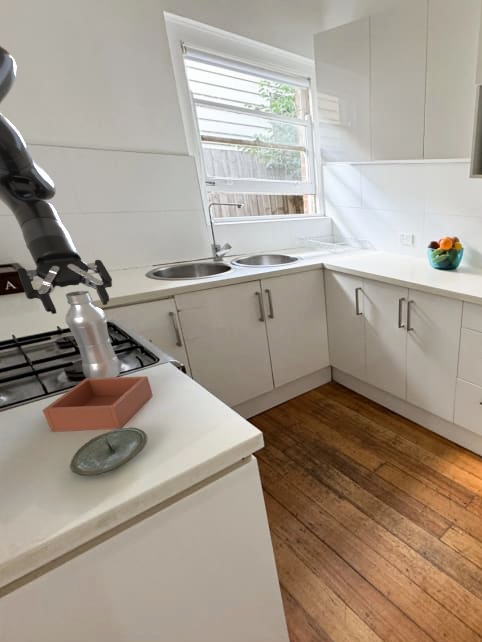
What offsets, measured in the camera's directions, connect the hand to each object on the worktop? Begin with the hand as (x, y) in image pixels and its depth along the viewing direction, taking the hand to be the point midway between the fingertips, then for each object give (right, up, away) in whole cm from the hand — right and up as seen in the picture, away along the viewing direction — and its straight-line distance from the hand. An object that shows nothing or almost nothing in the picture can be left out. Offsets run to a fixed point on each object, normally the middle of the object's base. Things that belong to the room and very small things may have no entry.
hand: (80, 307), depth 80 cm
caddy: (+10, -21, -6) cm, 24 cm away
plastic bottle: (+1, -16, +6) cm, 17 cm away
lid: (+21, -27, -17) cm, 38 cm away
